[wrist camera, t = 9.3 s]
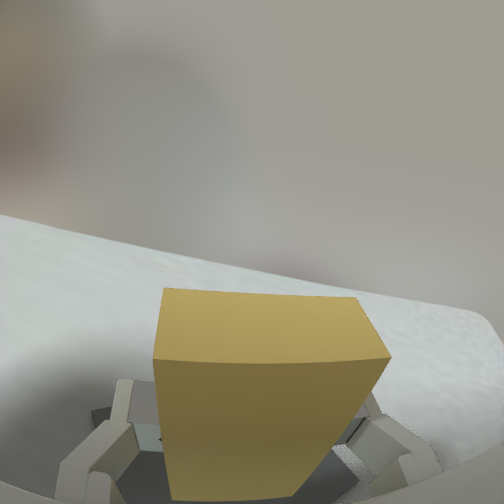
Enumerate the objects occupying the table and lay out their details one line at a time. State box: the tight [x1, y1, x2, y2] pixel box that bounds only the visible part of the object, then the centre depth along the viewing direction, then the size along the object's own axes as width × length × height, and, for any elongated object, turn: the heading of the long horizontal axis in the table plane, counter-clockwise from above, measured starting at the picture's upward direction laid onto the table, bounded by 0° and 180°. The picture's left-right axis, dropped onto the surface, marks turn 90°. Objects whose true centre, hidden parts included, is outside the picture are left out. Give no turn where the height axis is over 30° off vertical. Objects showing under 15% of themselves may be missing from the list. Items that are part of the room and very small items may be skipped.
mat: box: [91, 407, 360, 504], centre depth 19 cm, size 15×14×1 cm
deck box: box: [153, 288, 391, 501], centre depth 9 cm, size 2×5×10 cm, turn 97°
